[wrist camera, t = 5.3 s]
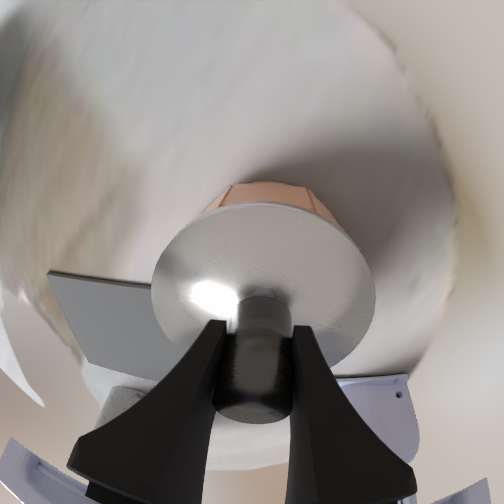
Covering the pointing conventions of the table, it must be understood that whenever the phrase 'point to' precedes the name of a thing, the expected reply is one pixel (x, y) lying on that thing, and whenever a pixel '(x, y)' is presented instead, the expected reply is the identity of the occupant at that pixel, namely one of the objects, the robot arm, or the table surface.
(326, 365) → the robot arm
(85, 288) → the mat
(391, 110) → the table surface
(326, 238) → the lid
